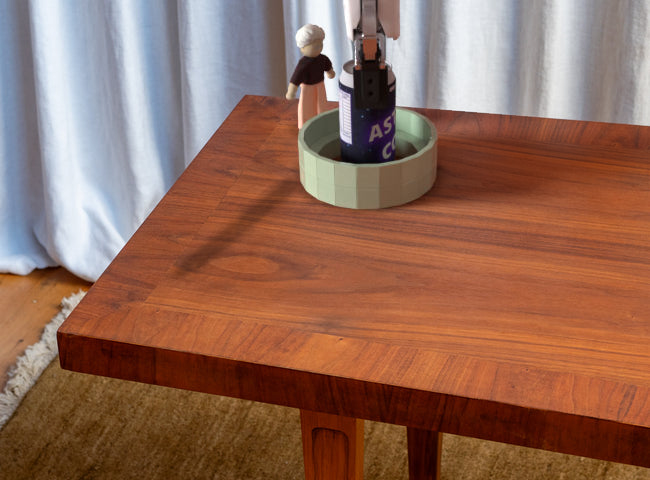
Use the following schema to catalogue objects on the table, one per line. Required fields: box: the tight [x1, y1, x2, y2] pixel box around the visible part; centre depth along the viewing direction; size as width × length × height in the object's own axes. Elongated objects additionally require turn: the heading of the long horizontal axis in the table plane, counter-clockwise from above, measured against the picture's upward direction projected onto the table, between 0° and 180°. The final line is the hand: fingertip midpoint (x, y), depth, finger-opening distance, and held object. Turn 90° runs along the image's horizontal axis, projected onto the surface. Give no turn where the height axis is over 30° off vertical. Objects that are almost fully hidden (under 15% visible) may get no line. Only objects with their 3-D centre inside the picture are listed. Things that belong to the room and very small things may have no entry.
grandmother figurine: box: [285, 23, 337, 130], centre depth 100 cm, size 8×4×13 cm, turn 150°
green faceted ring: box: [297, 105, 439, 210], centre depth 92 cm, size 14×14×6 cm
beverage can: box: [338, 58, 397, 164], centre depth 90 cm, size 6×6×12 cm
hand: (370, 86), depth 87 cm, fingers open, 9 cm apart
